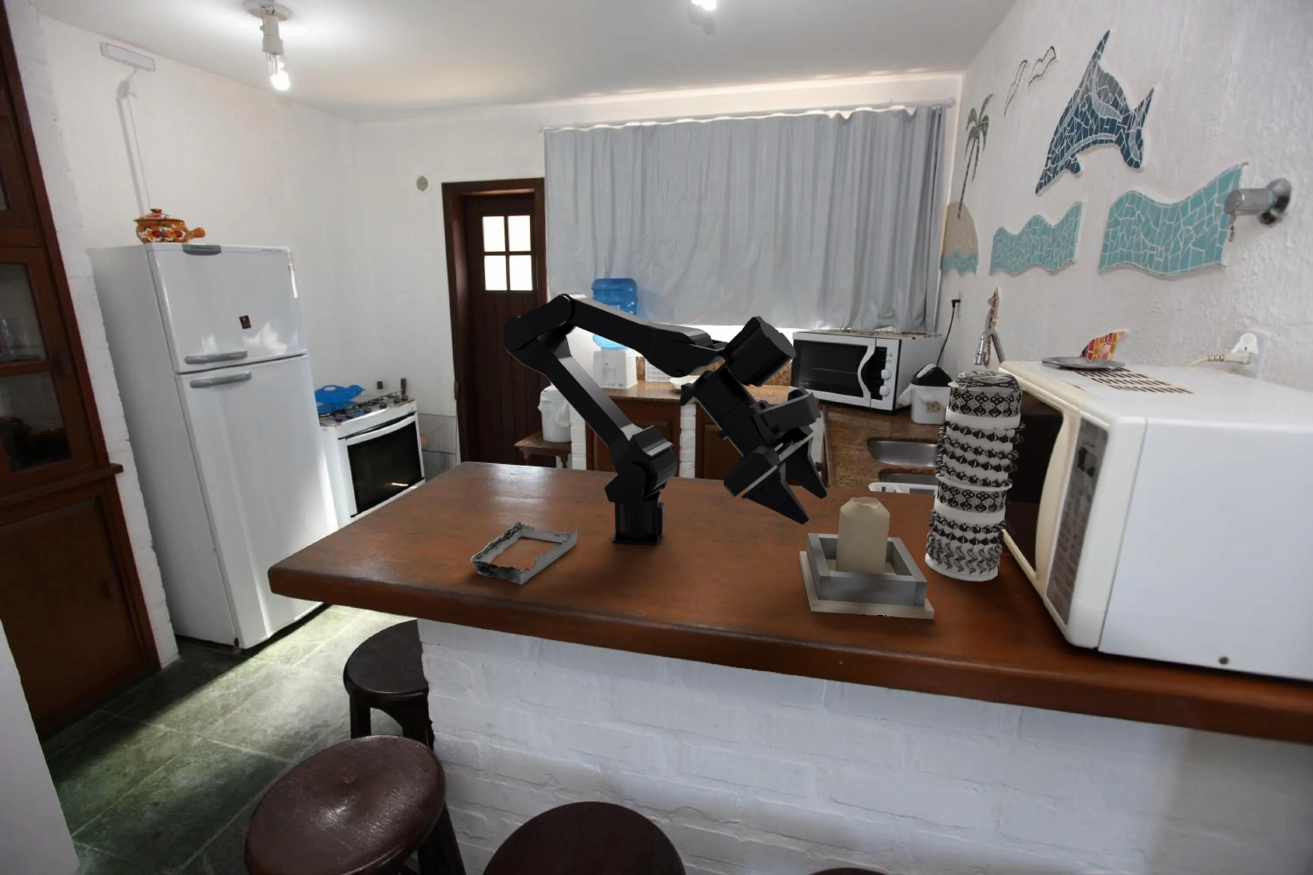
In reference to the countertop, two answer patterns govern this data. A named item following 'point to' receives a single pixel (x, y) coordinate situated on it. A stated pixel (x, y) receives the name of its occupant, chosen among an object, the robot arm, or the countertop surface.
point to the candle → (862, 536)
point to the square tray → (864, 582)
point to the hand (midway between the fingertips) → (815, 508)
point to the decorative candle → (974, 475)
